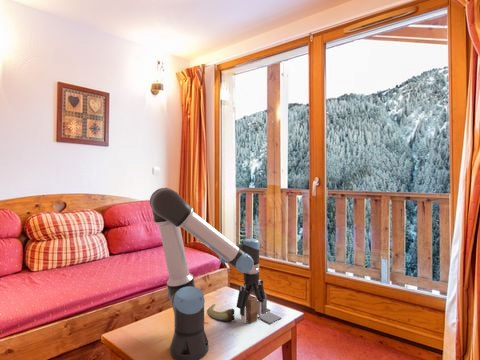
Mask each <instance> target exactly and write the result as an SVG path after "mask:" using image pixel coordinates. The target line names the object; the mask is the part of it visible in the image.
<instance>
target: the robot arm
mask: <svg viewBox="0 0 480 360" xmlns="http://www.w3.org/2000/svg"><path fill="white" fill-rule="evenodd" d="M149 198H150V199H149V206H150V207H151V208H150V209H151V213H152V217H153V220H154V224H155V225H158V228H159V233H160V238H161V243H162V247H163V252H164V258H165V263H166V268H167V272H168V277H169V278H168V280H167V281H166V286H167V287H166V288H167V293H168V294H167V296H168V300H169V302H170V304H171V307H172V310H173V315H174V316H173V317H174V333H173V336H172V339H171V342H170V345H169V346H170V347H169V355H170V356H171V357H172V358H173V359H174V360H201V359H202V358H203V357H205V356H206V355H207V354H208V352H209V339H208V336H207V334H206V331H205V302H206V301H205V299H206V298H205V295H204V292H203V290H201V289H200V288H199V287H196V284H195V279H194V275H193V274H192V273H190V271H189V266H188V262H187V256H186V250H185V244H184V240H183V235H182V230H181V229H183V230H184V231H186V232H187V233H189V234H190V235H191V236H193V237H194V238H195V239H197V241H199V242H201V243H202V244H203V245H205V246H206V247H207V248H208V249H210V250H211V251H213V252H214V253H215V254H216V255H217V256H218V258H219V261H220V263H222V264H227V263H228V264H230V265H231V266H232V267H233V268H235V269H236V270H237V271H238V272H240V273H242V274H243V281H244V282H243V283H244V284H243V285H239V286H238V290H239V291H238V296H237V300H236V301H237V303H236V308H238V309H239V315H240V321H241V322H242V323H244V324H247V321H246V308H245V306H246V303H247V300H248V297H249V295H251V293H252V292H253V293H254V295H255V296H256V297H257V316H258V317H259V316H261V315H262V313H261V308H262V302H264V300H263V299H265V294H266V293H265V294H264V290H265V289H264V281H263V280H261V279H260V251H261V248H260V241H259V239H256V238H244V240H243V243H241V244H235V243H234V242H233V241H231V240H230V239H228V238H227V237H226V236H225V235H223V234H222V233H221V232H220V231H219V230H217V229H216V228H215V227H214V226H213V225H211V224H210V223H208V222H207V221H206V220H205V219H204V218H202V217H201V216H200V215H198V214H197V213H196V212H194V208H193V207H192V206H191V205H190V204H189V203H187V201H185V199H184V198H183V197H182V196H181V195H180V194H179V193H178V192H177V191H175V190H173V189H172V188H169V187H161V188H158V189H156V190H155V191H153V192H152V194H151V196H150V197H149ZM242 305H243V306H242Z"/></svg>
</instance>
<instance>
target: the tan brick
mask: <svg viewBox="0 0 480 360" xmlns="http://www.w3.org/2000/svg"><path fill="white" fill-rule="evenodd" d="M257 301H258V300H257V298H256V297H255V296H253V295H251V294H250V295H249V297H248V300H247V303H246V306H245V308H246V322H249V323H250V324H253V323H255V322H257V321H258V315H257ZM242 306H243V305H242Z"/></svg>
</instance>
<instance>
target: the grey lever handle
mask: <svg viewBox="0 0 480 360" xmlns="http://www.w3.org/2000/svg"><path fill="white" fill-rule="evenodd" d="M264 294H265V299H263V300H264V302H262V308H261V314H262V315H263V314H265V313H266V312H268V311H269V312H271V309H269V308H268V307H267V305H268V303H267V302H268V301H267V298H268V297H267V295H268V294H267V293H266V290H265V289H264ZM254 297H256V295H255V296H254ZM256 298H257V297H256Z"/></svg>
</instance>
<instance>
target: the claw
mask: <svg viewBox="0 0 480 360" xmlns="http://www.w3.org/2000/svg"><path fill="white" fill-rule="evenodd" d="M215 306H216V303H214V304H212V305H211V306H209V308H207V312H206V313H207V314H208V316H209V317H210V318H213V319H216V320H219V321H223V322H224V321H225V322H226V321H227V322H234V321H235V309H234V308H229V309H225V310H224V311H217V310H215V309H214V307H215Z"/></svg>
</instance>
